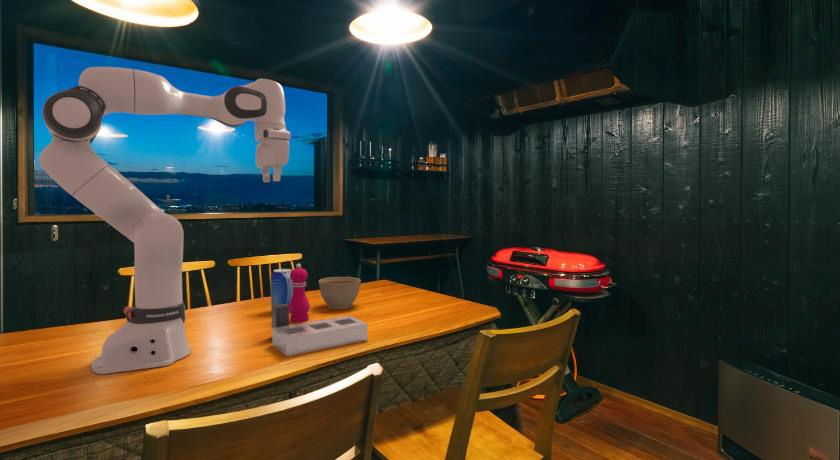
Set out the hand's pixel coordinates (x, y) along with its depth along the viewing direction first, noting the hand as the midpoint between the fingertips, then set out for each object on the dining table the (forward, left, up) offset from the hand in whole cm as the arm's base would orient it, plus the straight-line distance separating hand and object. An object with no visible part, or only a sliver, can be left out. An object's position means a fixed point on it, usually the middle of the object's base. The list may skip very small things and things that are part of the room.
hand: (271, 181), depth 137 cm
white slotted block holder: (+9, -14, -48) cm, 51 cm away
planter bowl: (+33, +23, -48) cm, 63 cm away
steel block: (+1, -2, -48) cm, 48 cm away
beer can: (+12, +28, -48) cm, 57 cm away
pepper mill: (+13, +14, -48) cm, 52 cm away
